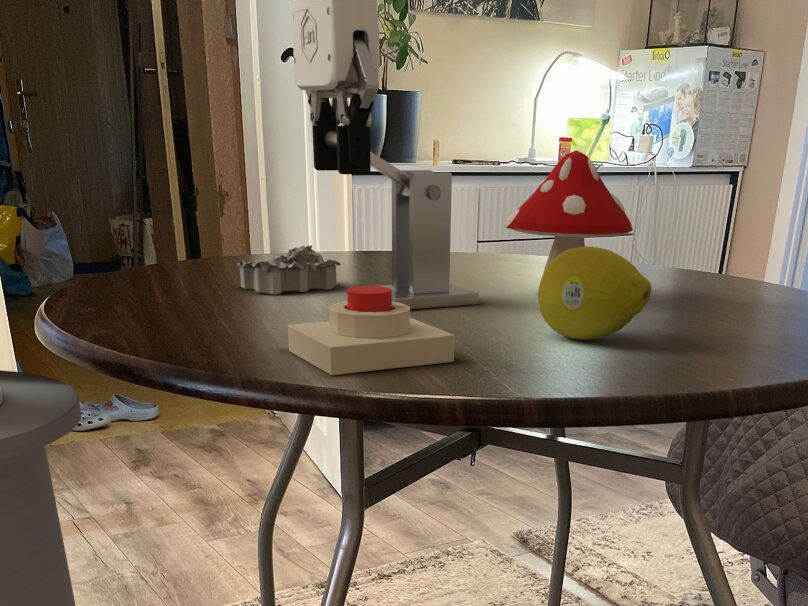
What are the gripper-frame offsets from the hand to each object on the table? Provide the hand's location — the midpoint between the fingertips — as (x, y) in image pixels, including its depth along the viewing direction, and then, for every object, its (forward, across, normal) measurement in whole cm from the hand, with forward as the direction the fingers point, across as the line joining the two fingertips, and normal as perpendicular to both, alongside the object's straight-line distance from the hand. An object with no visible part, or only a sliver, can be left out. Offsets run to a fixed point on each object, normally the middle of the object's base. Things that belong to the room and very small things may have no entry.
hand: (341, 169), depth 89 cm
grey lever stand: (+13, 0, +9) cm, 16 cm away
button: (+9, +21, -7) cm, 24 cm away
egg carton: (+13, -13, -1) cm, 19 cm away
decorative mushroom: (+13, +3, +26) cm, 29 cm away
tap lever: (+1, 0, +4) cm, 4 cm away
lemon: (+13, +23, +14) cm, 30 cm away
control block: (+13, +21, -7) cm, 26 cm away
